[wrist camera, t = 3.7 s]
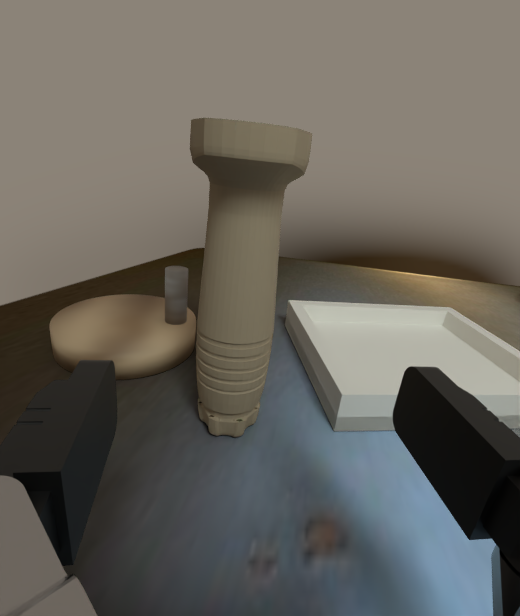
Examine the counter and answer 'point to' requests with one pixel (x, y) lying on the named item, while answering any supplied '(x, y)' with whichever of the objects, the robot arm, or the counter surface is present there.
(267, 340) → the handle
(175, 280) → the crank wheel
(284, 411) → the counter surface
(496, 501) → the robot arm
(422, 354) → the tray
